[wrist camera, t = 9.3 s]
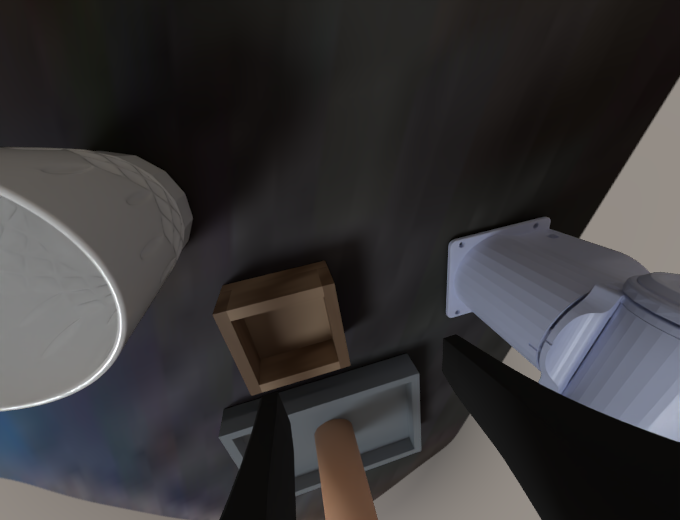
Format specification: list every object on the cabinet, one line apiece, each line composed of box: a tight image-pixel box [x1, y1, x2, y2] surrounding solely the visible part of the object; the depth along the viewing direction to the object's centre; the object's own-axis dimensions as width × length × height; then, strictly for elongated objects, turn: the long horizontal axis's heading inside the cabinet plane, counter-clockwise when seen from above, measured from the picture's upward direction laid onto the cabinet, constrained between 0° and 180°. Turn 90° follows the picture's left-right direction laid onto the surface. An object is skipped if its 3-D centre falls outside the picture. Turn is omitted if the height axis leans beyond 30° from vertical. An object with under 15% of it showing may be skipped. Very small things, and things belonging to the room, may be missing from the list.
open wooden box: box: [213, 261, 351, 396], centre depth 19 cm, size 8×8×4 cm
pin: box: [314, 419, 378, 520], centre depth 23 cm, size 4×4×9 cm
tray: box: [219, 353, 421, 496], centre depth 27 cm, size 18×13×2 cm
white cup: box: [0, 147, 193, 411], centre depth 11 cm, size 8×8×10 cm
